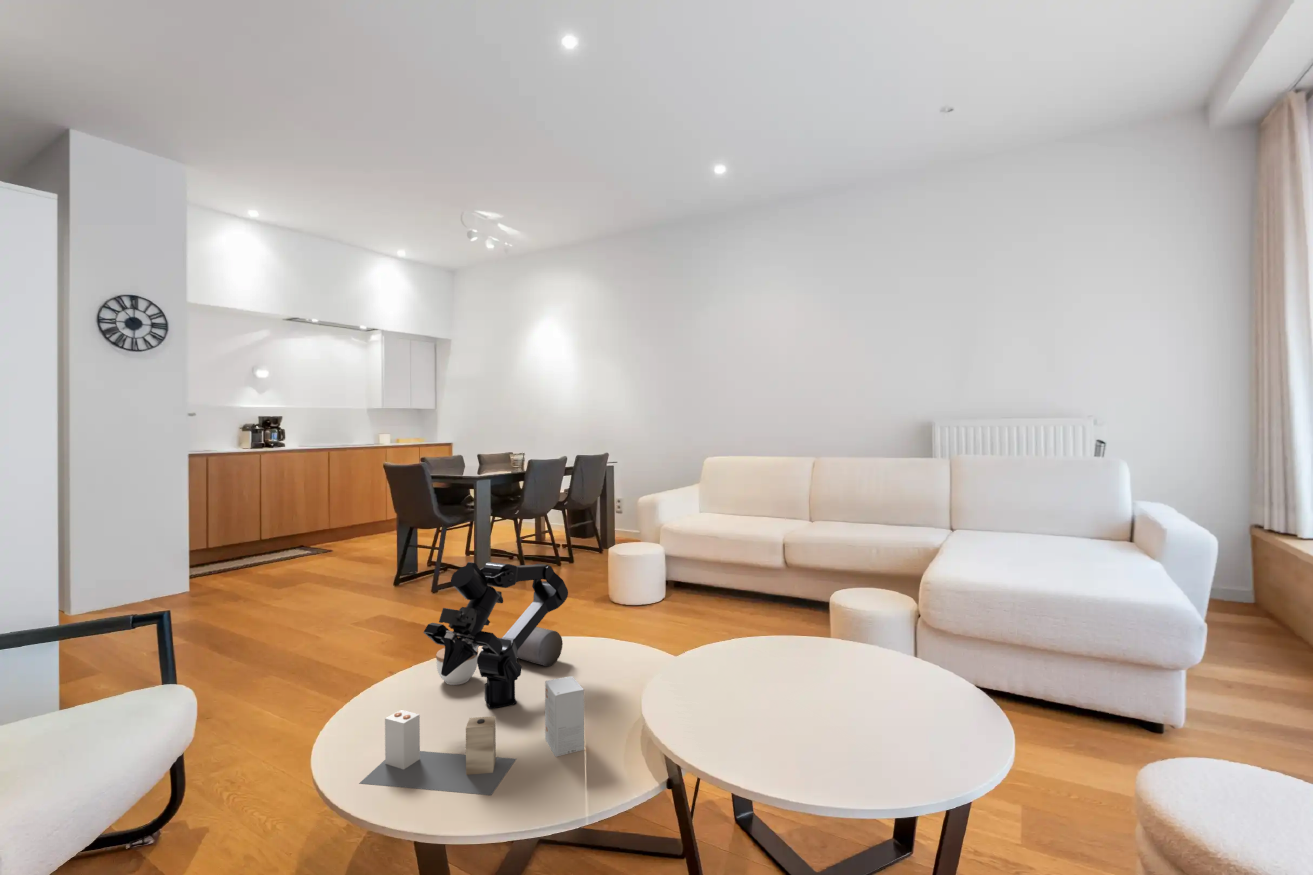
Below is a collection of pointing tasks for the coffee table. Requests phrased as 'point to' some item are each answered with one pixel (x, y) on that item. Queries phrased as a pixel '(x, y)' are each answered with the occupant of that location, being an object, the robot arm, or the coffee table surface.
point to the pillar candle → (541, 647)
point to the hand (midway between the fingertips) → (443, 675)
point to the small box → (564, 715)
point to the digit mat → (440, 774)
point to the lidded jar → (457, 669)
